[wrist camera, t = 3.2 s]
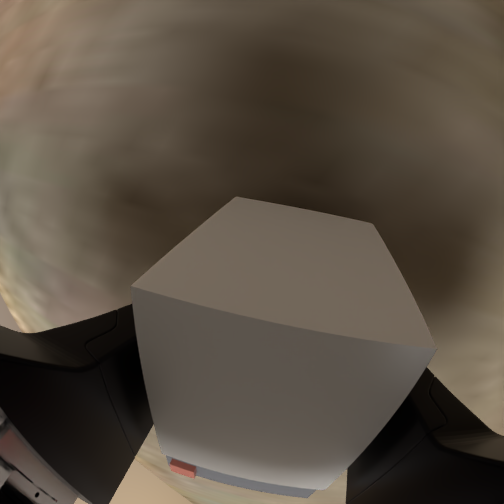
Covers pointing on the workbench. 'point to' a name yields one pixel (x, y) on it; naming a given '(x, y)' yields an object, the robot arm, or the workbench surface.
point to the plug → (277, 343)
